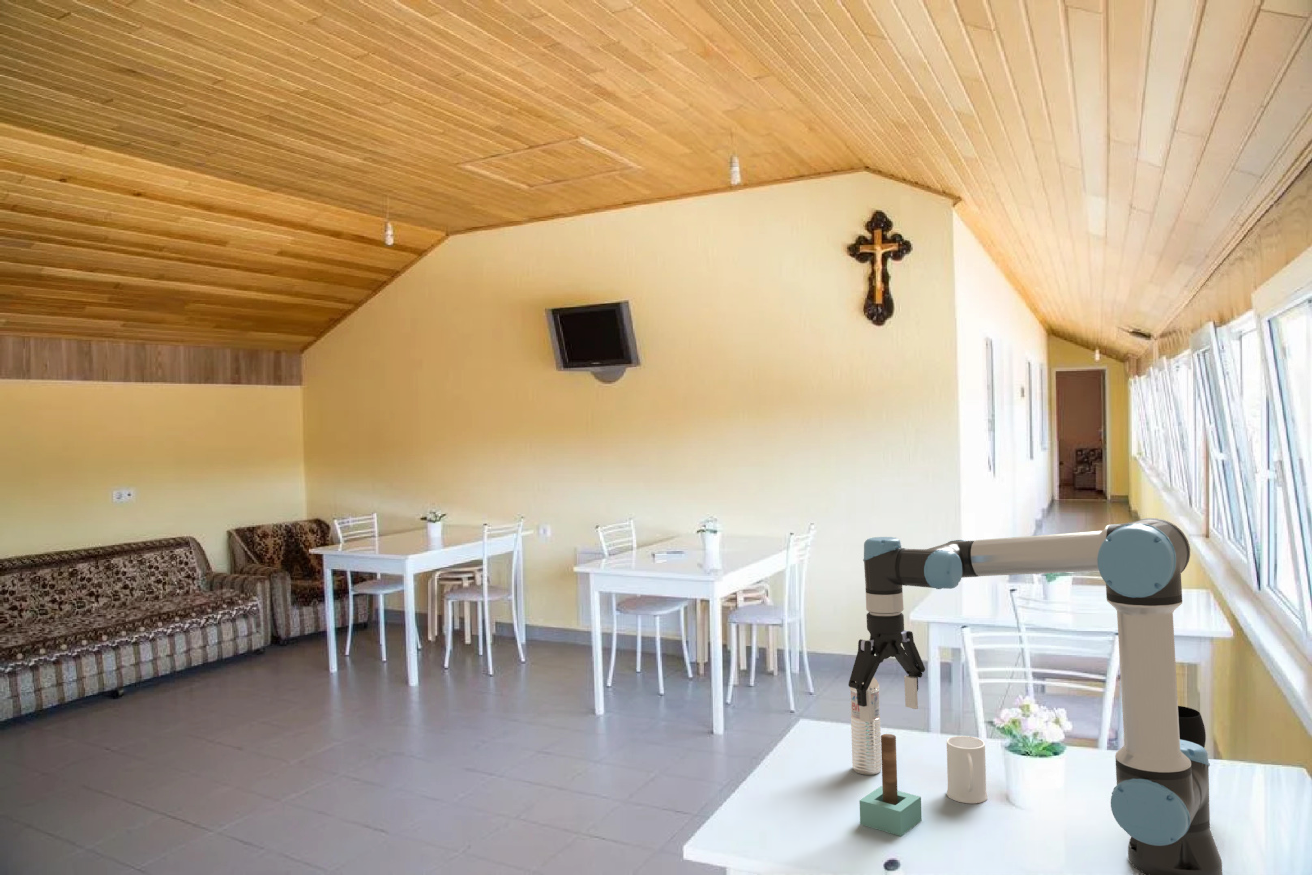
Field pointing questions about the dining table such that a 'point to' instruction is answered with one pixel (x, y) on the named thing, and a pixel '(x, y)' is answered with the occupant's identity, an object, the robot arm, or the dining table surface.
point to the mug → (966, 769)
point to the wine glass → (1191, 726)
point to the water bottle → (866, 734)
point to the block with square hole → (890, 812)
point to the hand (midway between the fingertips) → (889, 714)
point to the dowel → (889, 769)
